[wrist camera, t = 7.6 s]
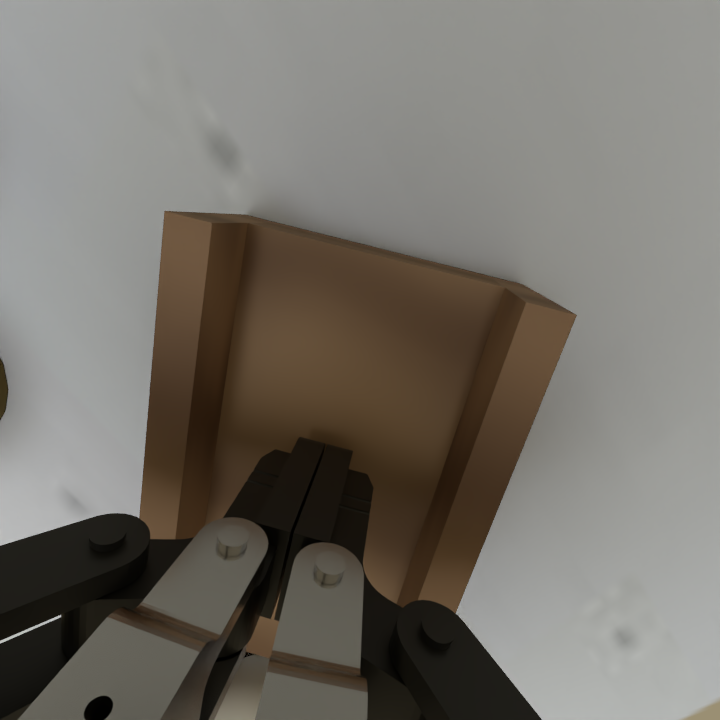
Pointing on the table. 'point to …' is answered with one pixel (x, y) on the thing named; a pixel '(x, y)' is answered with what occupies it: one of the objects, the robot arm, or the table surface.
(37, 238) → the table surface
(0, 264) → the table surface
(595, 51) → the table surface
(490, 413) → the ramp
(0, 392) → the pepper mill
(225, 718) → the ball
